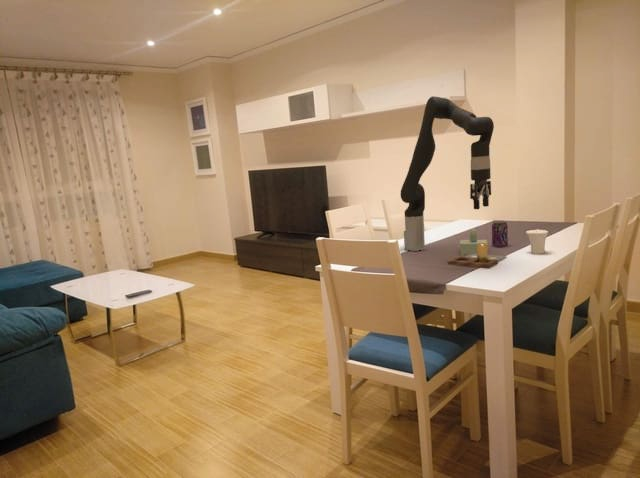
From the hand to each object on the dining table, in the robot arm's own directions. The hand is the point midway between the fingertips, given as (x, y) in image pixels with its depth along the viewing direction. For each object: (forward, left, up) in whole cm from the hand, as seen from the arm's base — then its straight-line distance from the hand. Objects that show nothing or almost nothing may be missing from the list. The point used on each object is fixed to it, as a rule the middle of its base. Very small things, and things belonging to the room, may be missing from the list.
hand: (481, 207), depth 188 cm
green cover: (-14, +22, -24) cm, 36 cm away
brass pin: (0, 0, -24) cm, 24 cm away
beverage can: (-8, +38, -24) cm, 46 cm away
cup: (+12, +30, -24) cm, 40 cm away
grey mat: (-4, +10, -24) cm, 27 cm away
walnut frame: (-4, 0, -24) cm, 24 cm away
